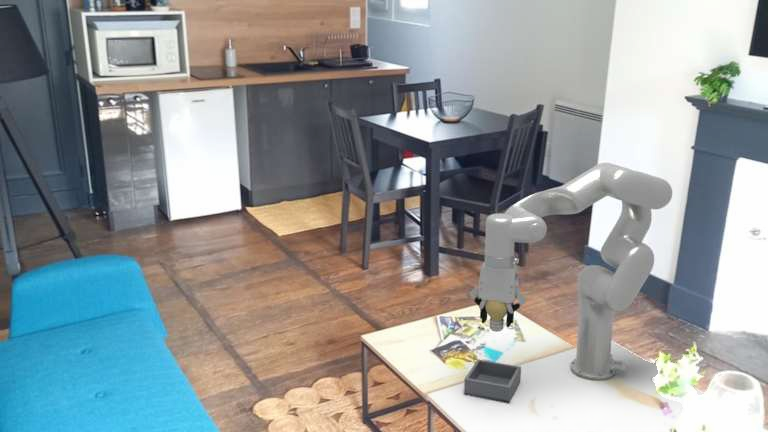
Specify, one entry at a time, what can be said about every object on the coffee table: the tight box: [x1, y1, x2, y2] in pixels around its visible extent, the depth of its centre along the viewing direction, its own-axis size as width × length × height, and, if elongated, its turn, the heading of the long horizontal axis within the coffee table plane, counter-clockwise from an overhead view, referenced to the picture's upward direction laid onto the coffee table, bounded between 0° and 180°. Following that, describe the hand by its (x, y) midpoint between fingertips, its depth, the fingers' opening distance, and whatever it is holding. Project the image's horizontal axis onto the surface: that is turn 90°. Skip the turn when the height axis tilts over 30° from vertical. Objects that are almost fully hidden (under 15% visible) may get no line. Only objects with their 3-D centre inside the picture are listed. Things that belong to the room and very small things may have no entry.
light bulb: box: [485, 300, 508, 333], centre depth 195 cm, size 6×6×10 cm
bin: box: [463, 359, 522, 404], centre depth 201 cm, size 13×13×5 cm
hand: (496, 322), depth 196 cm, fingers closed on light bulb, 6 cm apart
